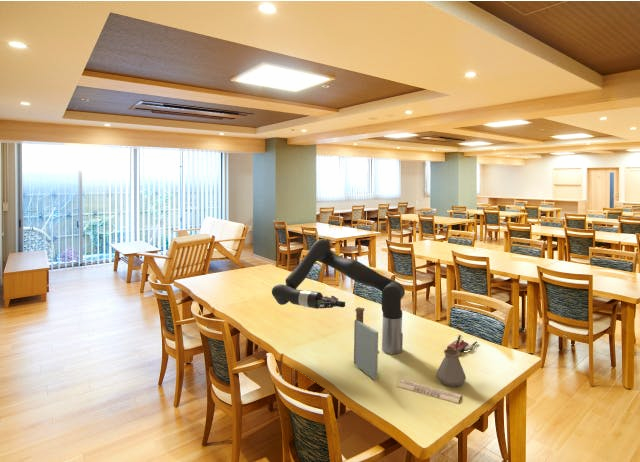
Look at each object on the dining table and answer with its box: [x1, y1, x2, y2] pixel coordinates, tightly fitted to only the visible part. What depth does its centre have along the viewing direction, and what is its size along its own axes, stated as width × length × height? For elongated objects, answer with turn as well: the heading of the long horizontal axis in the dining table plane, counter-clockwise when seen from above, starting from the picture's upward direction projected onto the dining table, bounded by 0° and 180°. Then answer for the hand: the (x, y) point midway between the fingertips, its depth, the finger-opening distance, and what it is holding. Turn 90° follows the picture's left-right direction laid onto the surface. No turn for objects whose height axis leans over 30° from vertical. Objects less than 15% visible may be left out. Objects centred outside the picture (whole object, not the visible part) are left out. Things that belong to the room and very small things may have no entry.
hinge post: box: [355, 307, 365, 323], centre depth 176 cm, size 3×3×25 cm
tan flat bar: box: [396, 379, 462, 404], centre depth 153 cm, size 24×7×2 cm, turn 60°
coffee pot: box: [436, 334, 467, 387], centre depth 164 cm, size 21×12×15 cm, turn 149°
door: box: [353, 319, 380, 380], centre depth 168 cm, size 16×3×20 cm, turn 28°
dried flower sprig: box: [446, 339, 478, 354], centre depth 193 cm, size 9×4×20 cm
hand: (344, 304), depth 172 cm, fingers closed
